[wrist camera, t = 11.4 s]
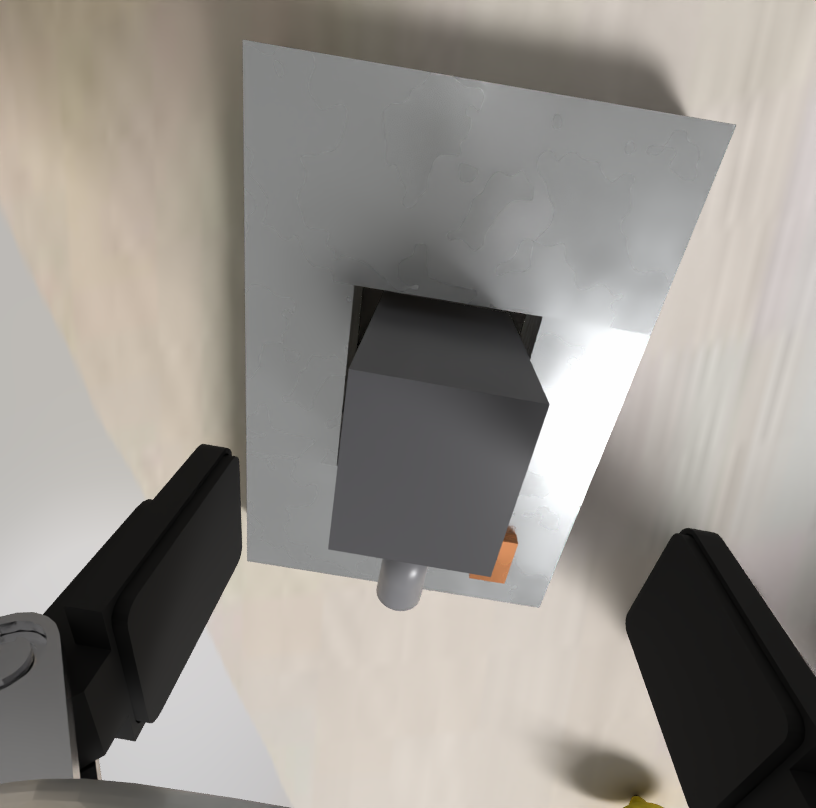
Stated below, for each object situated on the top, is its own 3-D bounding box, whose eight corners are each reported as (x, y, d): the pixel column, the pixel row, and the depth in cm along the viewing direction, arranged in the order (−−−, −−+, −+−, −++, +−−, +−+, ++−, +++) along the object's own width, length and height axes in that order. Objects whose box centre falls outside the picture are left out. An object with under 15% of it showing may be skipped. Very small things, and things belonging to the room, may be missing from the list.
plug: (384, 290, 19) (348, 368, 12) (509, 312, 19) (549, 404, 12) (358, 474, 23) (320, 615, 16) (460, 491, 23) (468, 640, 16)
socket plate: (271, 57, 15) (234, 34, 13) (694, 130, 16) (748, 123, 13) (265, 524, 25) (242, 570, 22) (530, 567, 25) (541, 618, 22)
